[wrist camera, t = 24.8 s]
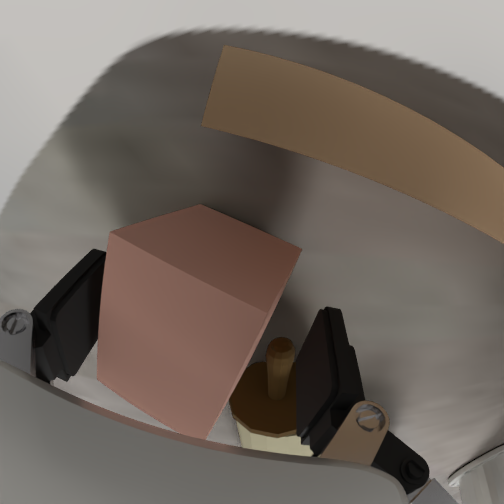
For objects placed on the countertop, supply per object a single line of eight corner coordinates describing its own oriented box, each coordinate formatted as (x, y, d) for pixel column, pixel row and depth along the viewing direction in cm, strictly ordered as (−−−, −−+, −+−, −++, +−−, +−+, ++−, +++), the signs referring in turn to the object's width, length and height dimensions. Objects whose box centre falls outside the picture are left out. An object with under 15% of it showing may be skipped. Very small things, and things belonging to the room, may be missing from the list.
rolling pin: (224, 307, 15) (204, 385, 11) (337, 304, 14) (354, 383, 10) (262, 495, 30) (259, 527, 25) (306, 495, 29) (305, 527, 24)
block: (302, 249, 12) (267, 313, 7) (249, 360, 14) (202, 445, 9) (200, 204, 12) (109, 232, 7) (168, 317, 15) (97, 379, 9)
